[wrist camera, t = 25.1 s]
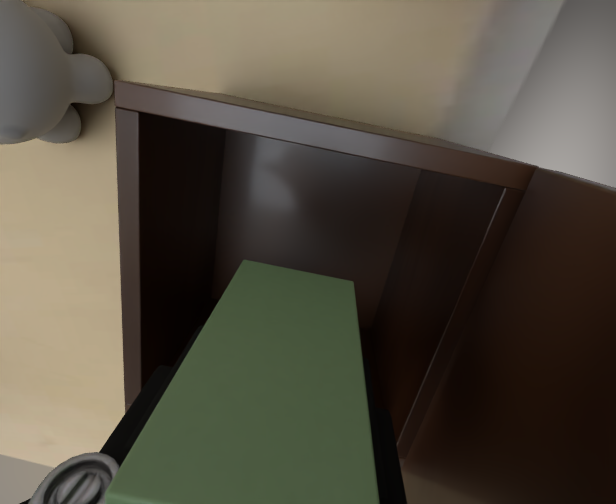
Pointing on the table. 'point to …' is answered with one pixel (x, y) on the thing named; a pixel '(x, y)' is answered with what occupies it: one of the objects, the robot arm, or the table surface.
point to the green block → (262, 403)
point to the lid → (532, 364)
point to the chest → (304, 228)
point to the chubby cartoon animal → (43, 76)
